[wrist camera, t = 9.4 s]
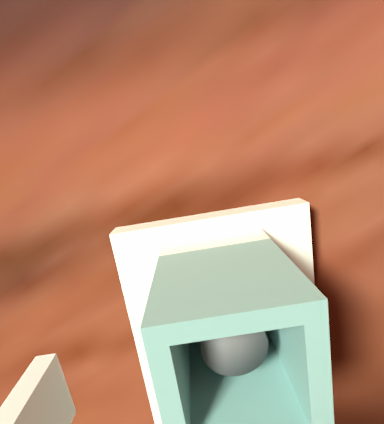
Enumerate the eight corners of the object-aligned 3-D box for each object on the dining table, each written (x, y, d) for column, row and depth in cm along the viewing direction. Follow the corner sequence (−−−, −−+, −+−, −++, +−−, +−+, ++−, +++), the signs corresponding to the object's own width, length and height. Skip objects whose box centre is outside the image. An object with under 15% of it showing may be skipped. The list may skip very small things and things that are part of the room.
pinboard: (115, 227, 18) (66, 282, 10) (298, 197, 18) (379, 232, 10) (161, 422, 21) (147, 564, 14) (313, 398, 21) (381, 530, 14)
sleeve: (161, 243, 16) (140, 328, 9) (260, 227, 16) (327, 299, 9) (178, 329, 18) (172, 469, 10) (269, 315, 18) (335, 445, 10)
